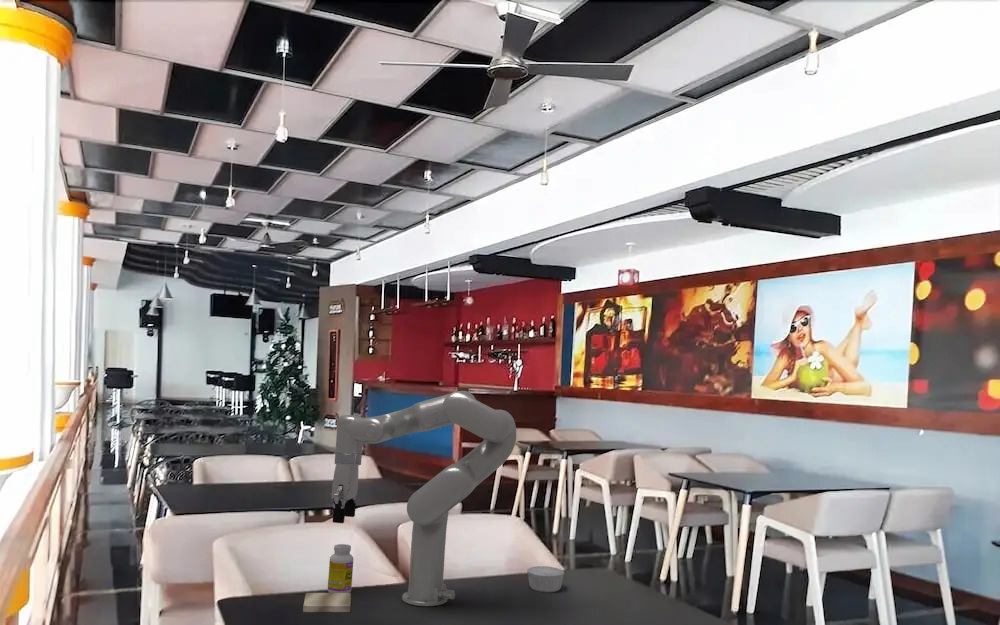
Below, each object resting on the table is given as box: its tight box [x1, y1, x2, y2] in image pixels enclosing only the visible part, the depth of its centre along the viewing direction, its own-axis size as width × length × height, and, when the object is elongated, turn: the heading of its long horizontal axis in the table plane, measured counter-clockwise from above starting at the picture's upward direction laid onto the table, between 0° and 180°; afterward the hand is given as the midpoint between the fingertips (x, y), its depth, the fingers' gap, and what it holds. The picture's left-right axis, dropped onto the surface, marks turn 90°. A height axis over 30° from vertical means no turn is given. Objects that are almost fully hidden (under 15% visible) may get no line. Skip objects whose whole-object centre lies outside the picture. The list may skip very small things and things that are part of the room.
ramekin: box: [526, 565, 565, 593], centre depth 241 cm, size 11×11×5 cm
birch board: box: [302, 592, 352, 613], centre depth 212 cm, size 12×12×2 cm
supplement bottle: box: [327, 543, 354, 593], centre depth 225 cm, size 7×7×13 cm
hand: (343, 519), depth 226 cm, fingers open, 9 cm apart
